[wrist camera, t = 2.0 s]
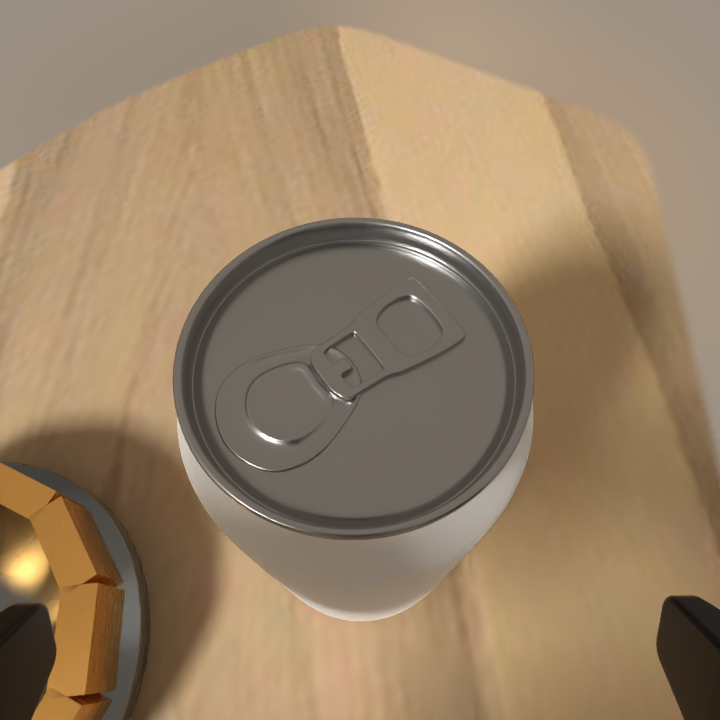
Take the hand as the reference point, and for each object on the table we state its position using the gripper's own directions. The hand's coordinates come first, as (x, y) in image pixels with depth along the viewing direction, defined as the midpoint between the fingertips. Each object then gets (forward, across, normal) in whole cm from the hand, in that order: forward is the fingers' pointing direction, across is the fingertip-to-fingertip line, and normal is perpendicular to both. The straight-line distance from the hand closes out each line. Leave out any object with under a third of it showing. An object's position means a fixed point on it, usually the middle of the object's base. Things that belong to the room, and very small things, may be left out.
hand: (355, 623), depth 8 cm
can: (+10, 0, +5) cm, 11 cm away
